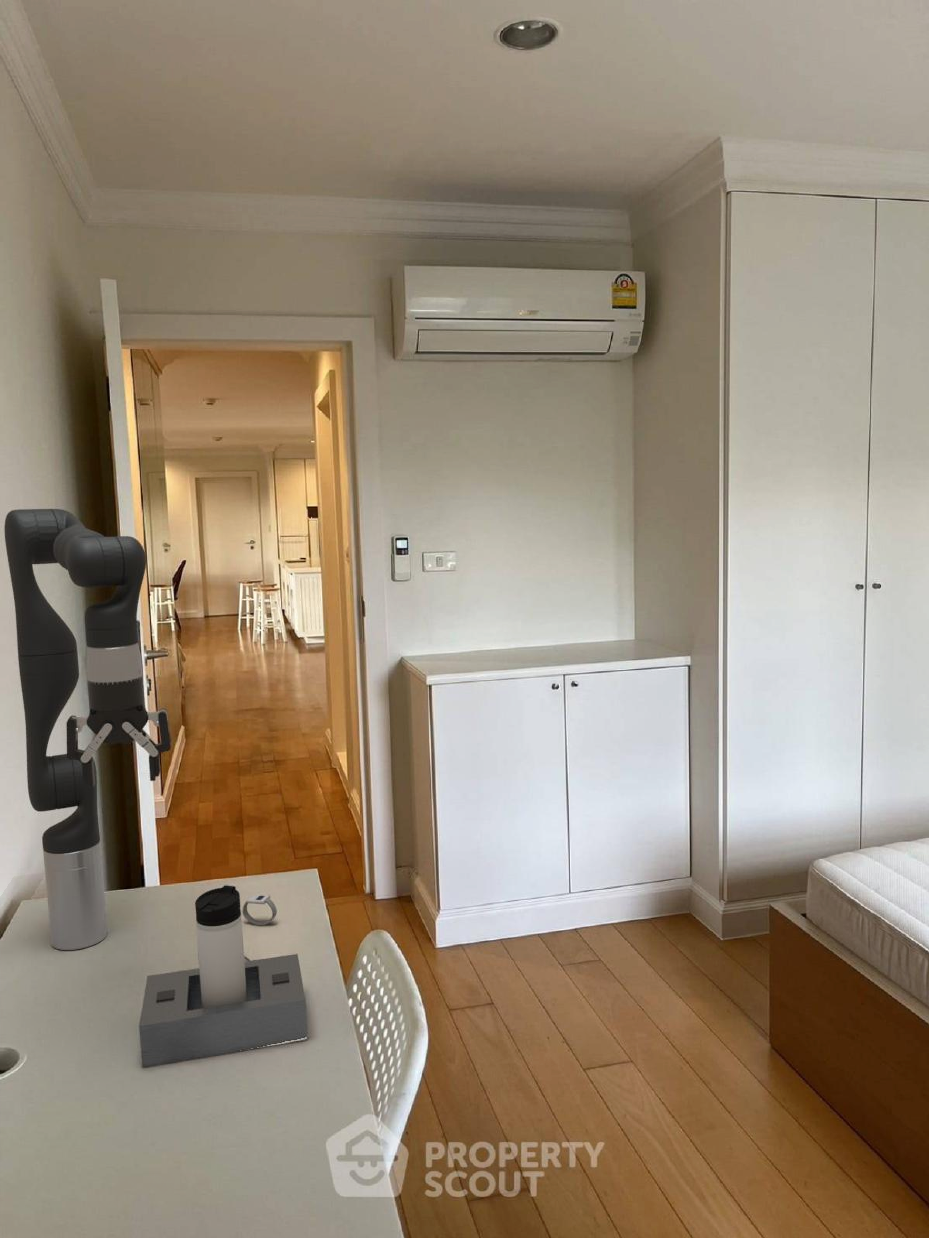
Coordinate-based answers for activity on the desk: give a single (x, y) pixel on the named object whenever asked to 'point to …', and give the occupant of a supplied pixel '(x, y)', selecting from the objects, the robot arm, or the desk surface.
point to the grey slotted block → (221, 1013)
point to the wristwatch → (259, 900)
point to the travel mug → (220, 947)
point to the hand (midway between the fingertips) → (122, 782)
